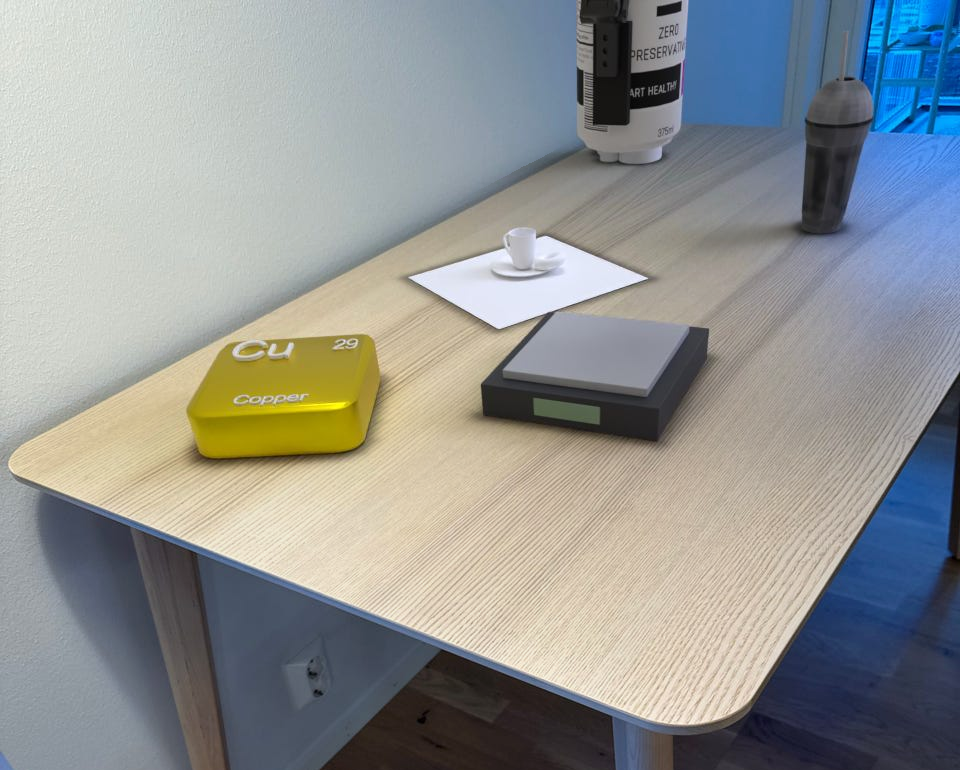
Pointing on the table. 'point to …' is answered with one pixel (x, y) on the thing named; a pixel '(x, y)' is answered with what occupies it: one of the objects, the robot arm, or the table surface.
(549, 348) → the scale
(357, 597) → the table surface
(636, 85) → the white drink can
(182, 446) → the table surface
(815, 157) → the beverage cup
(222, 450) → the element tile
